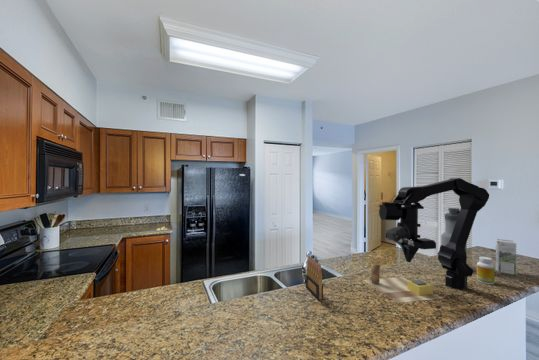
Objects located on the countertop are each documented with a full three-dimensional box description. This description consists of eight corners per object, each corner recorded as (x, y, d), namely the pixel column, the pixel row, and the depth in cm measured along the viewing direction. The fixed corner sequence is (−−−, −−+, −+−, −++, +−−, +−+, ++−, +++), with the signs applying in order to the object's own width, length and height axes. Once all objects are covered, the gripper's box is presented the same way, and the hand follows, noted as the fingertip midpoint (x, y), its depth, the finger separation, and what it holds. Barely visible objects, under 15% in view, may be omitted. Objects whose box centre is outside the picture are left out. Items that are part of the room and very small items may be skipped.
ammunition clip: (323, 300, 82) (323, 264, 82) (318, 300, 81) (318, 264, 82) (310, 287, 92) (310, 255, 92) (305, 287, 92) (305, 255, 92)
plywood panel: (402, 279, 101) (402, 276, 101) (443, 301, 82) (443, 298, 82) (362, 282, 97) (362, 279, 97) (397, 306, 79) (397, 302, 79)
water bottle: (444, 261, 125) (444, 206, 125) (468, 266, 118) (468, 208, 118) (438, 266, 118) (438, 208, 119) (464, 271, 111) (464, 209, 111)
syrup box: (512, 271, 112) (512, 239, 112) (516, 275, 107) (516, 242, 107) (495, 269, 115) (495, 238, 115) (498, 273, 110) (498, 240, 110)
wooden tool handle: (376, 281, 96) (376, 263, 96) (381, 284, 93) (381, 265, 93) (369, 281, 95) (369, 263, 96) (374, 284, 93) (374, 266, 93)
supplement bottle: (495, 285, 96) (495, 260, 96) (477, 282, 99) (477, 258, 99) (493, 281, 100) (493, 257, 100) (476, 278, 103) (476, 255, 103)
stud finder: (421, 287, 90) (421, 278, 90) (433, 293, 86) (433, 283, 86) (407, 289, 89) (407, 279, 89) (418, 295, 84) (418, 285, 84)
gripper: (374, 217, 100) (373, 255, 100) (410, 225, 82) (409, 272, 81) (397, 217, 102) (397, 254, 102) (437, 224, 84) (437, 270, 84)
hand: (408, 262), depth 92 cm, fingers closed
